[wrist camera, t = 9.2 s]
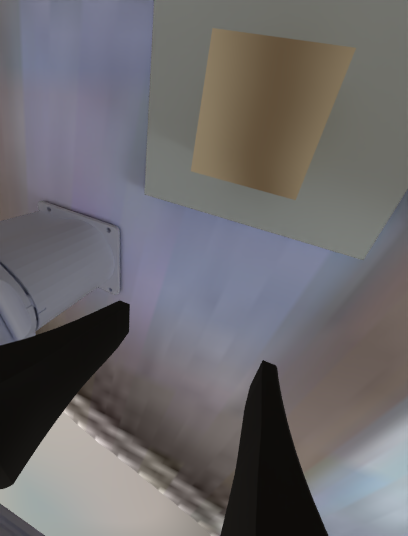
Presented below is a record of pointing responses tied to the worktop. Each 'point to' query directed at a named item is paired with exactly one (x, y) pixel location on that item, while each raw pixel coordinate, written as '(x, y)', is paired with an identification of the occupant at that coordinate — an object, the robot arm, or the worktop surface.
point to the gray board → (334, 134)
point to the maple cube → (265, 108)
